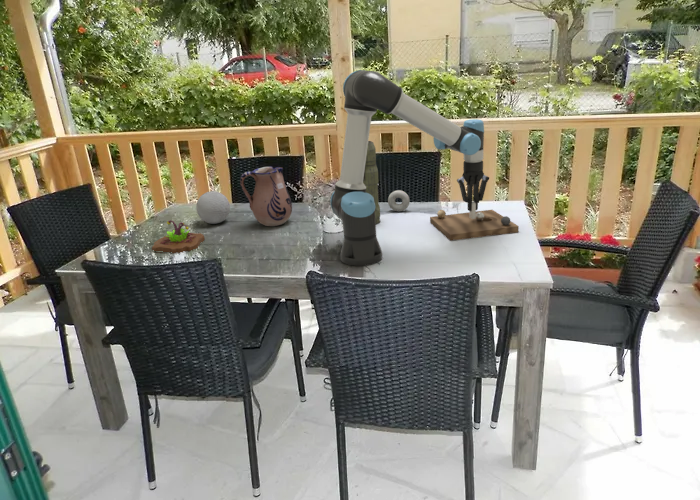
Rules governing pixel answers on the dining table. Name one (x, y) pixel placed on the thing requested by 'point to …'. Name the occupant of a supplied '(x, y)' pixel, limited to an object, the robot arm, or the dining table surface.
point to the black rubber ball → (505, 220)
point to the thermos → (372, 177)
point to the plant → (178, 240)
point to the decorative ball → (213, 207)
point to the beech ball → (441, 213)
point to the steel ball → (479, 216)
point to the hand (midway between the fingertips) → (472, 217)
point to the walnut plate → (472, 225)
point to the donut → (394, 205)
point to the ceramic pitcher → (269, 196)
